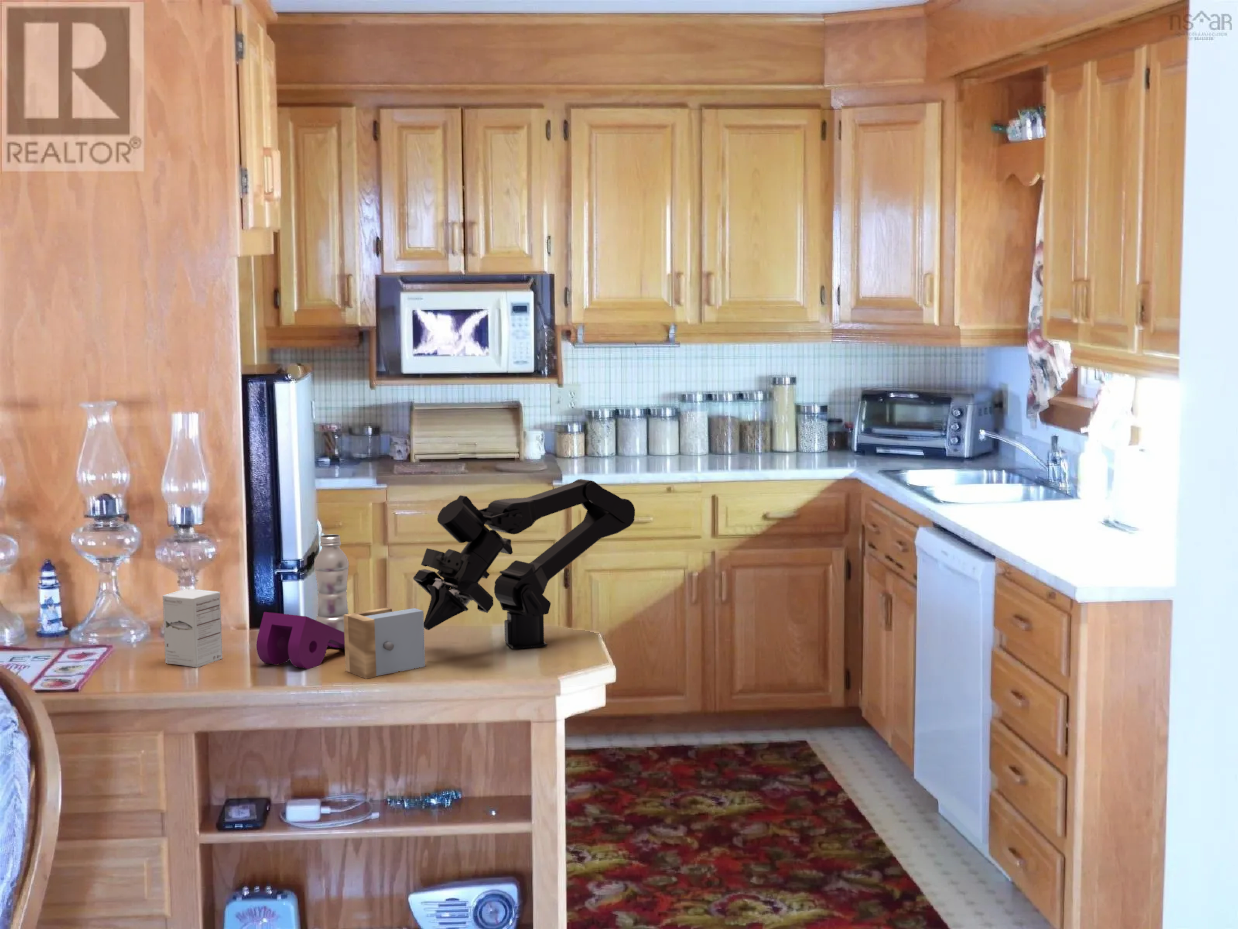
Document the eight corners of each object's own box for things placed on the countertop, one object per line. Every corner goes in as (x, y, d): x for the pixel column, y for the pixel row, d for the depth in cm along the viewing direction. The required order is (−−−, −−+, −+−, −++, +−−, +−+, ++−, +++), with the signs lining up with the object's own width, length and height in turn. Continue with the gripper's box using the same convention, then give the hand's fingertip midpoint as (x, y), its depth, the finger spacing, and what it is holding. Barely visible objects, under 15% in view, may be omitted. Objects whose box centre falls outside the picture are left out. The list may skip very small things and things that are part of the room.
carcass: (389, 662, 263) (387, 607, 262) (410, 670, 258) (408, 613, 257) (345, 670, 258) (343, 614, 257) (365, 678, 252) (364, 621, 251)
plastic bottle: (309, 639, 282) (305, 536, 280) (340, 634, 287) (336, 532, 284) (327, 645, 277) (323, 539, 275) (358, 639, 282) (354, 535, 280)
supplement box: (163, 664, 265) (160, 595, 263) (192, 655, 271) (189, 587, 270) (196, 668, 261) (193, 598, 260) (224, 659, 268) (221, 590, 267)
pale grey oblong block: (414, 663, 263) (413, 607, 262) (428, 668, 259) (427, 611, 258) (364, 672, 257) (362, 615, 256) (378, 677, 253) (376, 620, 252)
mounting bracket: (311, 680, 276) (251, 658, 261) (322, 635, 278) (263, 611, 263) (353, 685, 272) (294, 663, 256) (363, 640, 274) (306, 616, 259)
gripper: (420, 525, 270) (369, 593, 265) (476, 537, 256) (424, 610, 250) (458, 562, 276) (409, 629, 270) (515, 576, 261) (465, 647, 256)
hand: (425, 628), depth 262 cm, fingers closed
